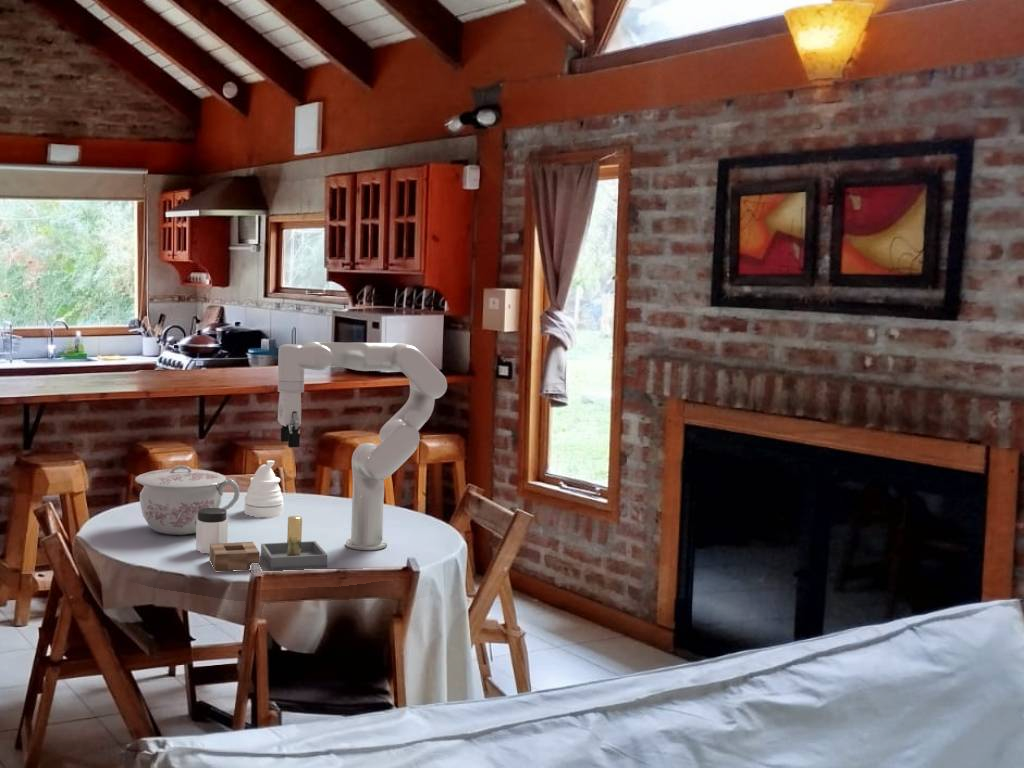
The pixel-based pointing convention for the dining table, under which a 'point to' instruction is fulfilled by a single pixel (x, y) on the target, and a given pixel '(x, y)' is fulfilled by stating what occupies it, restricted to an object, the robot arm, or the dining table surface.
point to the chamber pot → (181, 497)
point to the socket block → (233, 556)
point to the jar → (211, 528)
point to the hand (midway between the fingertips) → (289, 444)
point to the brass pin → (294, 536)
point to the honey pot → (264, 494)
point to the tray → (279, 560)
